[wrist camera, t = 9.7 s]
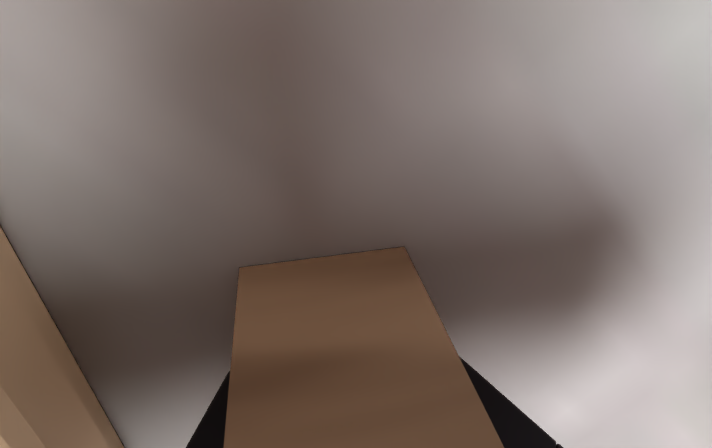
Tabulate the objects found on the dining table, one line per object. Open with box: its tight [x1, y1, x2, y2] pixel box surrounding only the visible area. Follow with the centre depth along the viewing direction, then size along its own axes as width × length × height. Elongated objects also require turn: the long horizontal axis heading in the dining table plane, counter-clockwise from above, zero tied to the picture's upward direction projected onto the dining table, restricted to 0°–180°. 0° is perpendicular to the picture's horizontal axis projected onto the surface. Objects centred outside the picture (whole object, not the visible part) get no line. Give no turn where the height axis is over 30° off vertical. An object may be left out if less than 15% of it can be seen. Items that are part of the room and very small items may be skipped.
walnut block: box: [224, 247, 504, 448], centre depth 9 cm, size 4×4×6 cm
